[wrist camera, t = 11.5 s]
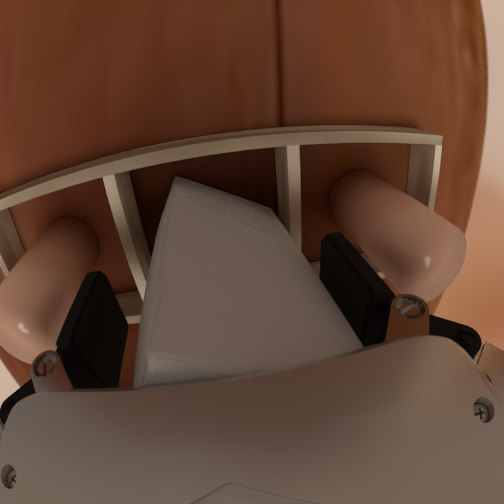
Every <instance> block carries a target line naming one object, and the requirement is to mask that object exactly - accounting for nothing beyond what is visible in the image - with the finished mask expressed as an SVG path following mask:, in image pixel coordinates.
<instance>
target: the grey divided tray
mask: <svg viewBox="0 0 504 504" xmlns="http://www.w3.org/2000/svg"><path fill="white" fill-rule="evenodd" d="M442 137H443V136H441V135H438V134H435V133H432V132H428V131H425V130H422V129H418V128H408V127H393V126H372V125H313V126H292V127H276V128H264V129H253V130H244V131H235V132H227V133H220V134H213V135H206V136H199V137H193V138H187V139H182V140H176V141H171V142H166V143H161V144H156V145H151V146H147V147H142V148H138V149H134V150H130V151H126V152H122V153H118V154H114V155H110V156H106V157H103V158H99V159H96V160H92V161H89V162H85V163H82V164H79V165H76V166H73V167H70V168H66V169H63V170H61V171H58V172H55V173H52V174H49V175H46V176H44V177H41V178H38V179H35V180H33V181H30V182H28V183H25V184H23V185H20V186H18V187H15V188H13V189H11V190H8V191H6V192H4V193H1V194H0V267H1V269H2V271H3V273H4V275H5V277H6V278H5V279H4V280H3V282H2V283H1V285H0V345H1V346H2V347H3V348H4V349H5V350H6V351H7V352H9V353H10V354H11V355H13V356H14V357H16V358H18V359H19V360H21V361H23V362H26V363H29V364H32V362H33V360H34V359H35V358H36V357H37V356H38V355H39V354H40V353H42V352H44V351H47V350H53V351H55V352H56V349H57V346H56V341H57V338H58V336H59V333H60V331H61V329H62V326H63V324H64V321H65V319H66V317H67V314H68V312H69V310H70V308H71V305H72V303H73V301H74V299H75V297H76V295H77V292H78V290H79V288H80V286H81V284H82V282H83V280H84V278H85V276H86V274H87V273H89V272H91V270H92V268H93V266H94V264H95V262H96V260H97V258H98V252H99V248H98V242H97V239H96V237H95V235H94V233H93V232H92V230H91V229H90V228H89V227H88V226H87V225H86V224H85V223H84V222H82V221H80V220H79V219H76V218H73V217H60V218H58V219H56V220H54V221H53V222H52V223H51V224H50V225H49V226H48V227H47V228H46V230H45V231H44V232H43V233H42V234H41V235H40V236H39V237H38V238H37V240H36V241H35V242H34V243H33V244H32V245H31V246H30V248H29V249H28V250H27V251H26V252H25V250H24V248H23V246H22V243H21V241H20V238H19V236H18V233H17V231H16V228H15V225H14V223H13V220H12V217H11V214H10V212H9V209H8V208H9V207H11V206H14V205H16V204H19V203H22V202H24V201H27V200H30V199H33V198H36V197H39V196H41V195H44V194H47V193H50V192H53V191H57V190H60V189H63V188H66V187H69V186H73V185H76V184H80V183H83V182H87V181H90V180H94V179H97V178H101V177H103V181H104V185H105V189H106V193H107V196H108V200H109V203H110V207H111V211H112V214H113V217H114V221H115V224H116V227H117V230H118V234H119V237H120V240H121V243H122V246H123V249H124V252H125V255H126V258H127V260H128V263H129V266H130V269H131V272H132V274H133V277H134V280H135V282H136V285H137V287H138V290H139V291H133V292H126V293H119V294H115V296H116V298H117V301H118V303H119V305H120V307H121V309H122V311H123V314H124V316H125V318H126V320H127V322H128V324H132V323H140V319H141V312H142V306H143V300H144V294H145V289H146V283H147V278H148V273H149V268H150V263H151V258H152V257H151V254H150V251H149V247H148V244H147V241H146V237H145V234H144V230H143V227H142V223H141V219H140V215H139V212H138V208H137V204H136V200H135V196H134V192H133V188H132V183H131V179H130V175H129V170H134V169H138V168H143V167H147V166H152V165H157V164H162V163H167V162H172V161H177V160H183V159H188V158H194V157H200V156H207V155H213V154H220V153H227V152H235V151H243V150H251V149H260V148H270V147H274V149H275V164H276V180H277V198H278V217H279V220H280V222H281V223H282V224H283V226H284V227H285V229H286V230H287V232H288V233H289V235H290V236H291V237H292V239H293V240H294V242H295V243H296V244H297V246H298V247H299V249H300V250H301V181H300V151H299V145H308V144H328V143H410V158H409V170H408V180H407V189H406V193H405V192H403V191H401V190H400V189H398V188H396V187H395V186H393V185H391V184H390V183H388V182H386V181H385V180H383V179H381V178H379V177H378V176H376V175H374V174H372V173H370V172H368V171H366V170H352V171H349V172H347V173H345V174H344V175H342V176H341V177H340V178H339V179H338V180H337V181H336V182H335V184H334V185H333V187H332V189H331V192H330V194H329V200H328V207H329V212H330V214H331V217H332V218H333V220H334V221H335V222H336V223H337V224H338V225H339V226H340V227H341V228H342V229H343V230H344V231H345V232H346V233H347V234H348V235H349V236H350V238H351V239H352V240H353V241H354V242H355V243H356V244H357V245H358V246H359V247H360V248H361V249H362V251H363V252H364V253H360V255H361V256H362V257H363V258H364V259H365V260H366V261H367V262H368V263H369V265H370V266H371V267H372V268H373V269H374V270H375V272H376V273H377V274H378V275H379V276H380V278H381V279H383V278H387V279H388V280H389V281H390V282H391V284H392V285H393V286H394V287H395V288H396V289H397V291H398V292H399V293H400V294H412V295H416V296H418V297H420V298H422V299H423V300H424V301H425V302H426V303H427V302H429V301H431V300H433V299H434V298H436V297H437V296H439V295H440V294H441V293H442V292H443V291H445V290H446V289H447V287H448V286H449V285H450V284H451V283H452V281H453V280H454V279H455V277H456V275H457V274H458V272H459V270H460V268H461V266H462V264H463V261H464V258H465V253H466V239H465V236H464V234H463V232H462V231H461V230H460V229H459V228H457V227H456V226H454V225H453V224H452V223H450V222H449V221H447V220H446V219H445V218H443V217H442V216H440V215H439V214H437V213H436V212H434V211H433V210H434V204H435V198H436V192H437V185H438V178H439V170H440V161H441V150H442ZM309 264H310V265H311V267H312V268H313V270H314V271H315V273H316V274H317V276H318V277H319V276H320V261H316V262H311V263H309Z"/></svg>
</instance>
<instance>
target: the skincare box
mask: <svg viewBox="0 0 504 504" xmlns="http://www.w3.org/2000/svg"><path fill="white" fill-rule="evenodd" d="M360 348H364V347H363V345H362V343H361V342H360V340H359V339H358V337H357V335H356V334H355V332H354V331H353V329H352V327H351V326H350V324H349V323H348V321H347V320H346V318H345V317H344V315H343V314H342V312H341V310H340V309H339V307H338V306H337V304H336V303H335V301H334V300H333V298H332V297H331V295H330V294H329V292H328V291H327V289H326V288H325V286H324V285H323V283H322V282H321V280H320V279H319V277H318V276H317V274H316V273H315V271H314V270H313V268H312V267H311V265H310V264H309V262H308V261H307V259H306V258H305V256H304V255H303V253H302V252H301V250H300V249H299V247H298V246H297V244H296V243H295V242H294V240H293V239H292V237H291V236H290V235H289V233H288V232H287V230H286V229H285V227H284V226H283V224H282V223H281V222H280V220H279V219H278V217H277V216H276V214H275V213H274V212H273V210H272V209H271V208H269V207H266V206H263V205H260V204H257V203H255V202H252V201H249V200H246V199H244V198H241V197H238V196H235V195H232V194H229V193H226V192H224V191H221V190H218V189H215V188H212V187H209V186H206V185H203V184H200V183H197V182H194V181H191V180H188V179H185V178H182V177H178V176H177V177H175V178H174V181H173V184H172V186H171V189H170V192H169V195H168V198H167V201H166V204H165V207H164V210H163V213H162V216H161V219H160V223H159V226H158V230H157V233H156V238H155V244H154V249H153V254H152V258H151V263H150V268H149V273H148V278H147V283H146V289H145V294H144V300H143V306H142V312H141V319H140V325H139V333H138V340H137V348H136V356H135V365H134V383H133V387H148V386H161V385H172V384H183V383H192V382H200V381H208V380H216V379H223V378H229V377H236V376H242V375H248V374H253V373H259V372H264V371H269V370H274V369H279V368H284V367H289V366H293V365H298V364H302V363H306V362H311V361H315V360H319V359H323V358H327V357H330V356H334V355H338V354H342V353H346V352H350V351H353V350H357V349H360Z"/></svg>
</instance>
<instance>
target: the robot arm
mask: <svg viewBox="0 0 504 504" xmlns="http://www.w3.org/2000/svg"><path fill="white" fill-rule="evenodd" d="M319 279H320V280H321V282H322V283H323V285H324V286H325V288H326V289H327V291H328V292H329V294H330V295H331V297H332V298H333V300H334V301H335V303H336V304H337V306H338V307H339V309H340V310H341V312H342V314H343V315H344V317H345V318H346V320H347V321H348V323H349V324H350V326H351V327H352V329H353V331H354V332H355V334H356V335H357V337H358V339H359V340H360V342H361V343H362V345H363V347H364V348H360V349H357V350H353V351H350V352H346V353H342V354H338V355H334V356H330V357H327V358H323V359H319V360H315V361H311V362H306V363H302V364H298V365H293V366H289V367H284V368H279V369H274V370H269V371H264V372H259V373H253V374H248V375H242V376H236V377H229V378H223V379H216V380H208V381H200V382H192V383H183V384H172V385H161V386H148V387H130V388H118V384H119V378H120V371H121V365H122V360H123V354H124V349H125V343H126V338H127V333H128V322H127V320H126V318H125V316H124V314H123V311H122V309H121V307H120V305H119V303H118V301H117V298H116V296H115V294H114V292H113V289H112V287H111V285H110V282H109V280H108V278H107V276H106V274H103V273H102V272H101V271H95V272H89V273H87V274H86V276H85V278H84V280H83V282H82V284H81V286H80V288H79V290H78V292H77V295H76V297H75V299H74V301H73V303H72V305H71V308H70V310H69V312H68V314H67V317H66V319H65V321H64V324H63V326H62V329H61V331H60V333H59V336H58V338H57V341H56V346H57V349H56V352H55V351H53V350H47V351H44V352H42V353H40V354H39V355H38V356H37V357H36V358H35V359H34V360H33V362H32V364H31V368H30V373H31V377H32V379H30V380H29V381H28V382H27V383H25V384H24V385H23V386H22V387H20V388H19V389H18V390H17V391H16V392H14V393H13V394H12V395H11V396H9V397H8V398H7V399H6V400H5V401H4V402H3V404H2V405H1V408H0V504H504V351H503V350H501V349H499V348H497V347H495V346H494V345H492V344H490V343H488V342H485V343H484V344H483V343H481V338H480V336H479V334H478V333H477V332H476V331H475V330H474V329H473V328H471V327H469V326H466V325H463V324H459V323H456V322H453V321H450V320H446V319H443V318H440V317H436V316H433V315H430V314H429V307H428V305H427V303H426V302H425V301H424V300H423V299H422V298H420V297H418V296H416V295H412V294H400V295H398V296H395V294H394V293H393V292H392V291H391V290H390V288H389V287H388V286H387V285H386V284H385V282H384V281H383V280H382V279H381V278H380V276H379V275H378V274H377V273H376V272H375V270H374V269H373V268H372V267H371V266H370V265H369V263H368V262H367V261H366V260H365V259H364V258H363V257H362V256H361V255H360V253H359V252H358V251H357V250H356V249H355V248H354V247H353V246H352V244H351V243H350V242H349V241H348V240H347V239H346V238H345V237H344V236H343V234H342V233H340V232H335V233H329V234H326V236H325V238H322V240H321V258H320V276H319Z"/></svg>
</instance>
